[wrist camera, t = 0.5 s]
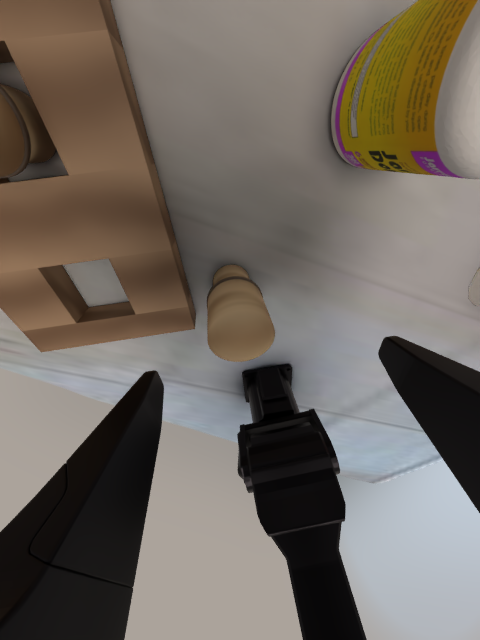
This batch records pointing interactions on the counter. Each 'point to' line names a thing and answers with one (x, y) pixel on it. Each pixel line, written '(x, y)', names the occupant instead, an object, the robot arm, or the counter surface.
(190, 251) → the counter surface
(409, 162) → the supplement bottle
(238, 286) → the oak leg
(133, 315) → the brown block with openings
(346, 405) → the counter surface
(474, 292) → the french press
